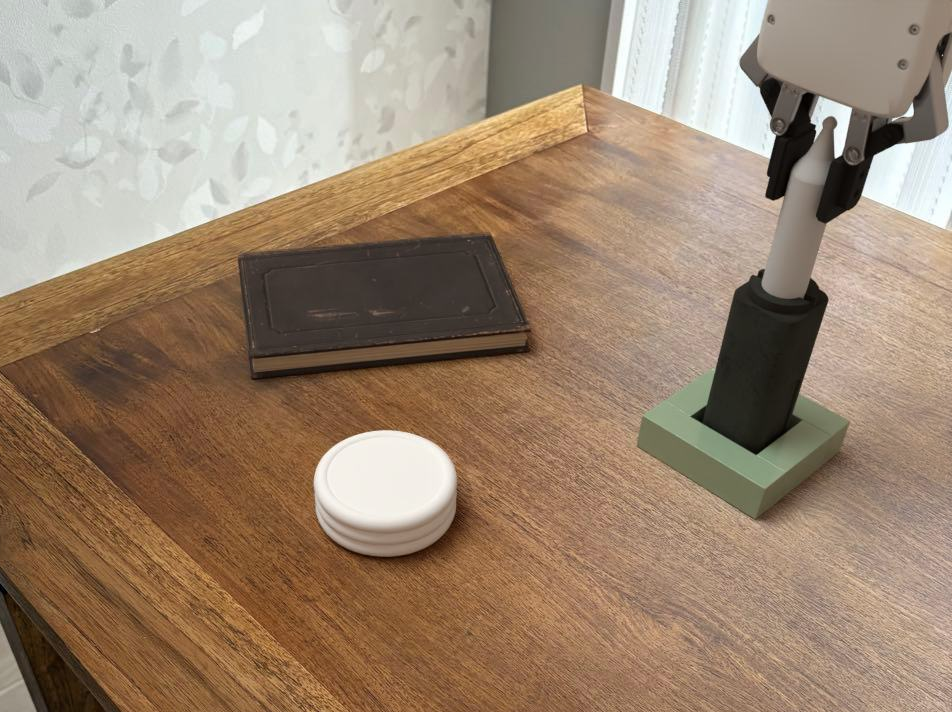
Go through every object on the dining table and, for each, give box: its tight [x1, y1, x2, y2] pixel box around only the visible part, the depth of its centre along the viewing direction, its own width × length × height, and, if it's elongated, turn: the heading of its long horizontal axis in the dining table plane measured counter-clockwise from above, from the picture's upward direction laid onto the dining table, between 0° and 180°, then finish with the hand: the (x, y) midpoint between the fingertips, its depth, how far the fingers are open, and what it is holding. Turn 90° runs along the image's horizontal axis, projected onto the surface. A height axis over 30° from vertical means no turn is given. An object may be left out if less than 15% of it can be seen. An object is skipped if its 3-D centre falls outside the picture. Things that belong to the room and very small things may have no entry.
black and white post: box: [702, 115, 838, 455], centre depth 74 cm, size 5×5×25 cm
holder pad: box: [636, 365, 851, 520], centre depth 83 cm, size 11×11×3 cm
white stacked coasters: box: [312, 429, 458, 558], centre depth 78 cm, size 10×10×4 cm
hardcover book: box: [236, 231, 532, 380], centre depth 96 cm, size 16×23×2 cm
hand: (808, 200), depth 69 cm, fingers closed on black and white post, 3 cm apart
